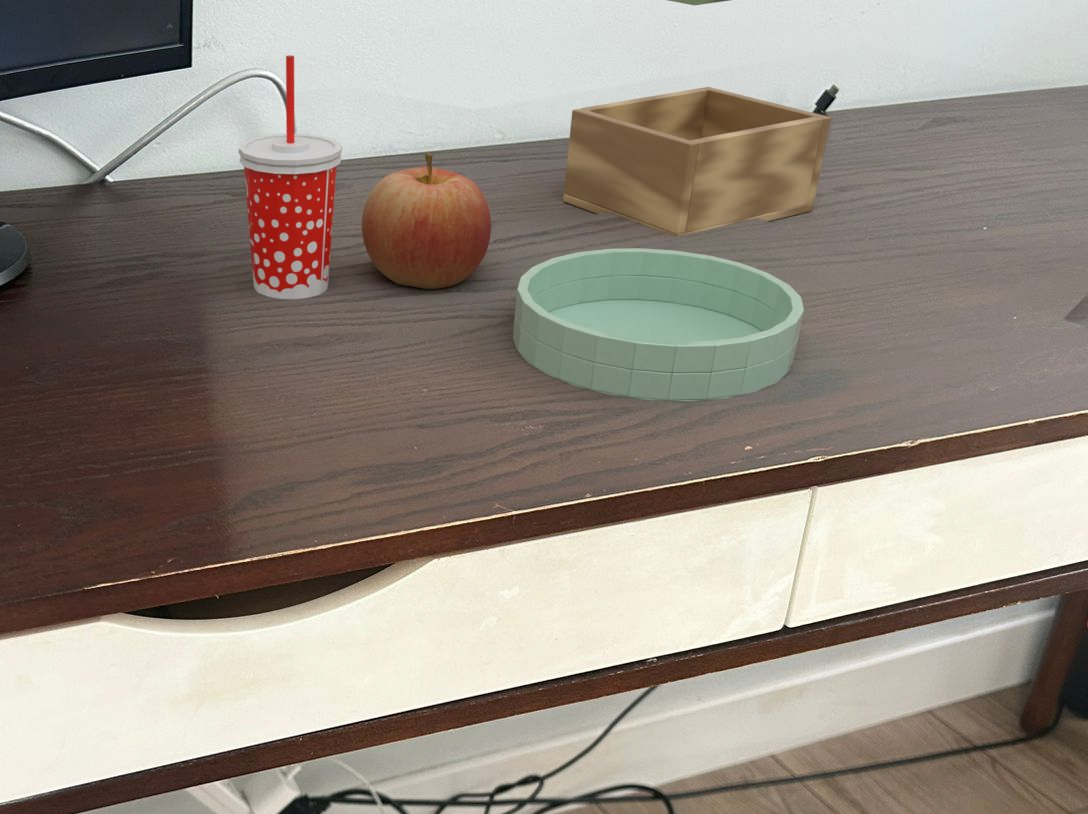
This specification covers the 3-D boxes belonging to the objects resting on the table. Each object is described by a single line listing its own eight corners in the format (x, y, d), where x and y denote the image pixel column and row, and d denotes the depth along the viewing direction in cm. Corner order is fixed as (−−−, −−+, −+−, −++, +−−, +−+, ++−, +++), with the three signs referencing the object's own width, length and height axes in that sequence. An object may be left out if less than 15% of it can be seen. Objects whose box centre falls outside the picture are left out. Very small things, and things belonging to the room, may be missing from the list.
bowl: (652, 288, 86) (660, 233, 84) (850, 369, 75) (864, 307, 73) (458, 336, 79) (462, 278, 77) (645, 433, 68) (655, 368, 66)
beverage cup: (285, 270, 89) (283, 41, 81) (359, 290, 86) (365, 54, 78) (222, 295, 85) (214, 58, 77) (297, 318, 82) (297, 72, 74)
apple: (362, 261, 90) (365, 137, 86) (484, 263, 90) (493, 138, 85) (358, 304, 84) (360, 172, 79) (489, 307, 83) (499, 174, 79)
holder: (694, 174, 107) (708, 86, 104) (812, 211, 99) (831, 117, 95) (562, 201, 101) (571, 109, 98) (675, 243, 93) (690, 144, 89)
